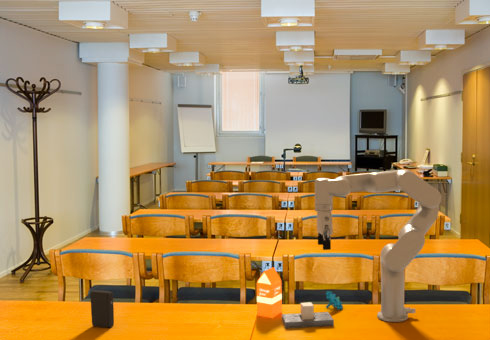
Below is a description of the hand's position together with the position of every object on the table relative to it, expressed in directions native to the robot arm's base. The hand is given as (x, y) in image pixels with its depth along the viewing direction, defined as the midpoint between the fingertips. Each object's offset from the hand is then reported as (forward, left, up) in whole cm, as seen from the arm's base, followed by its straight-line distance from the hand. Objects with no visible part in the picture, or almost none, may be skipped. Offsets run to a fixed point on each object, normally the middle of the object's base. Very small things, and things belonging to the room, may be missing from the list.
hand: (324, 247), depth 257 cm
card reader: (+94, -2, -31) cm, 99 cm away
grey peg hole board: (+9, +7, -30) cm, 32 cm away
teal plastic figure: (-7, -10, -31) cm, 33 cm away
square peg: (+9, +7, -30) cm, 32 cm away
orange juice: (+23, -7, -31) cm, 39 cm away
